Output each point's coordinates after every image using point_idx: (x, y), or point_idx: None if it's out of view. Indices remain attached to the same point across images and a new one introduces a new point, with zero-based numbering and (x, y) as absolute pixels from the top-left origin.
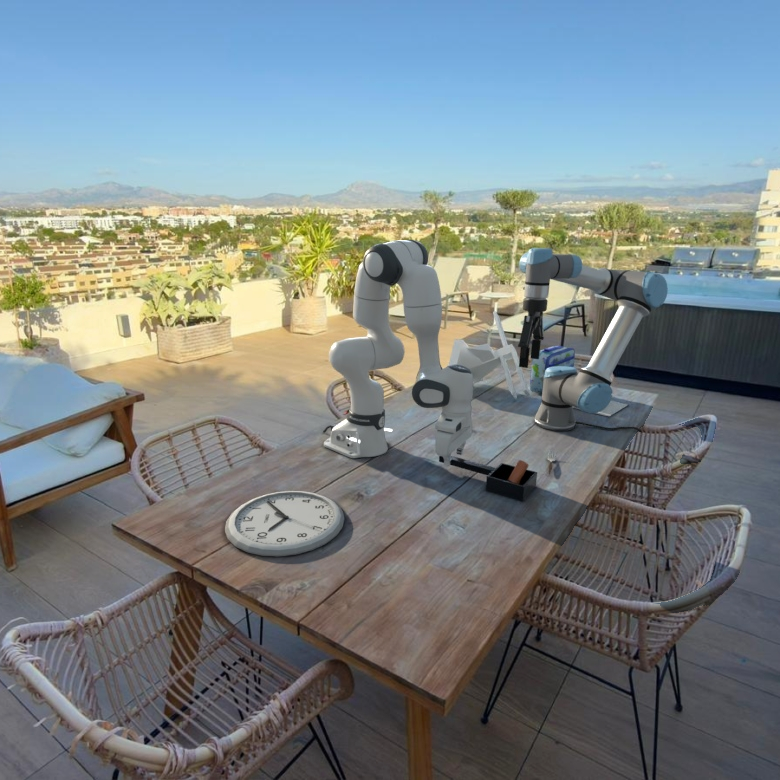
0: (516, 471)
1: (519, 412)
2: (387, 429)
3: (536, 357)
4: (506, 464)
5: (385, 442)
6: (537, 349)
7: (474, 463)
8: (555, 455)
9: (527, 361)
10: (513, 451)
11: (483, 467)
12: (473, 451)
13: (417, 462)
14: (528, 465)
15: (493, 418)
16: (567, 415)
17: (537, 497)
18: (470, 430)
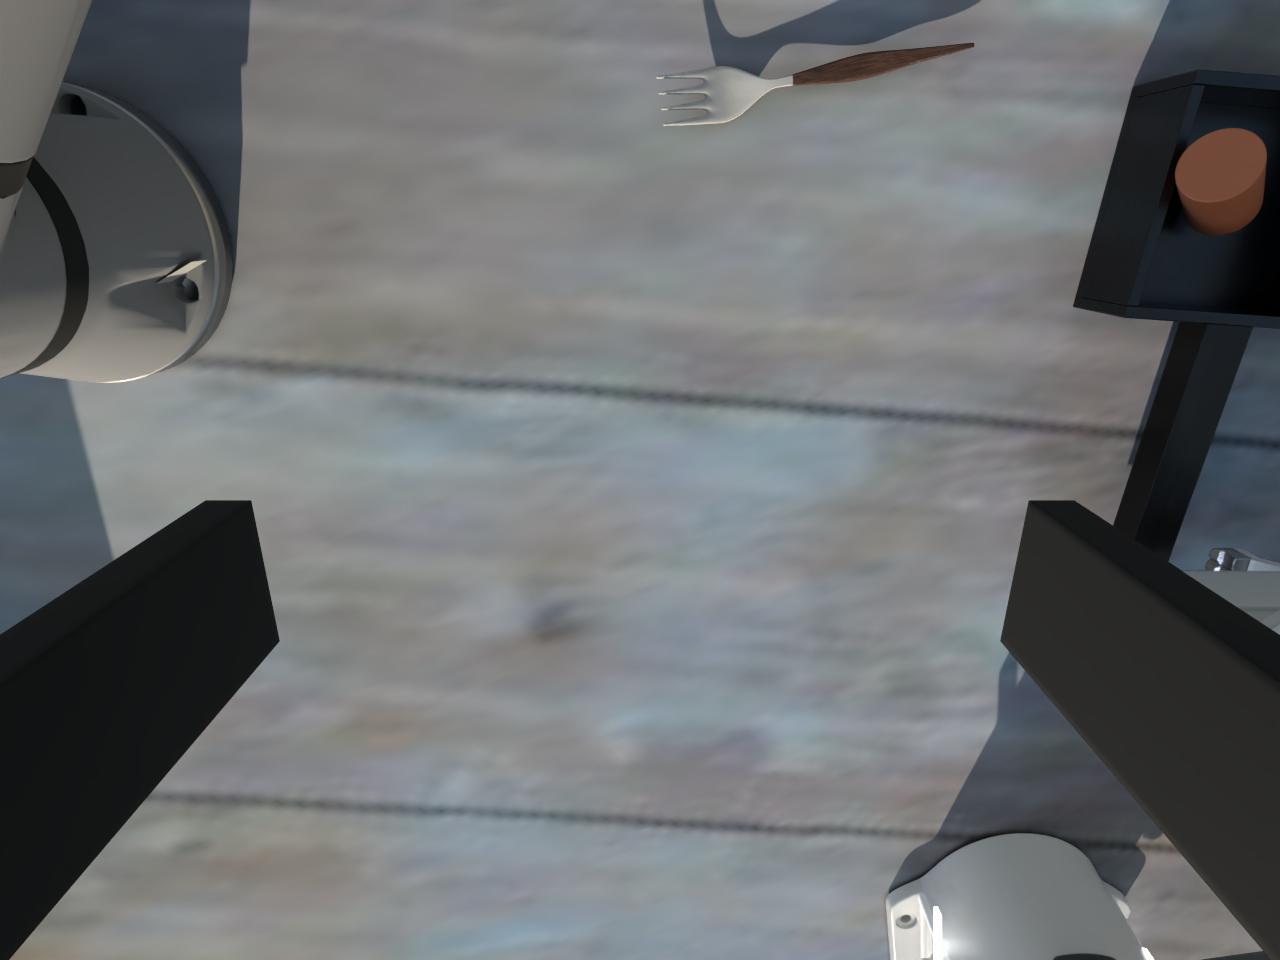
0: (1261, 190)
1: (62, 503)
2: (939, 929)
3: (243, 552)
4: (1139, 284)
5: (1011, 874)
6: (121, 648)
7: (1184, 446)
8: (690, 75)
9: (1160, 564)
10: (709, 346)
11: (1222, 387)
12: (817, 530)
13: None
14: (1229, 128)
15: (284, 599)
16: (55, 123)
17: (1269, 38)
18: None
